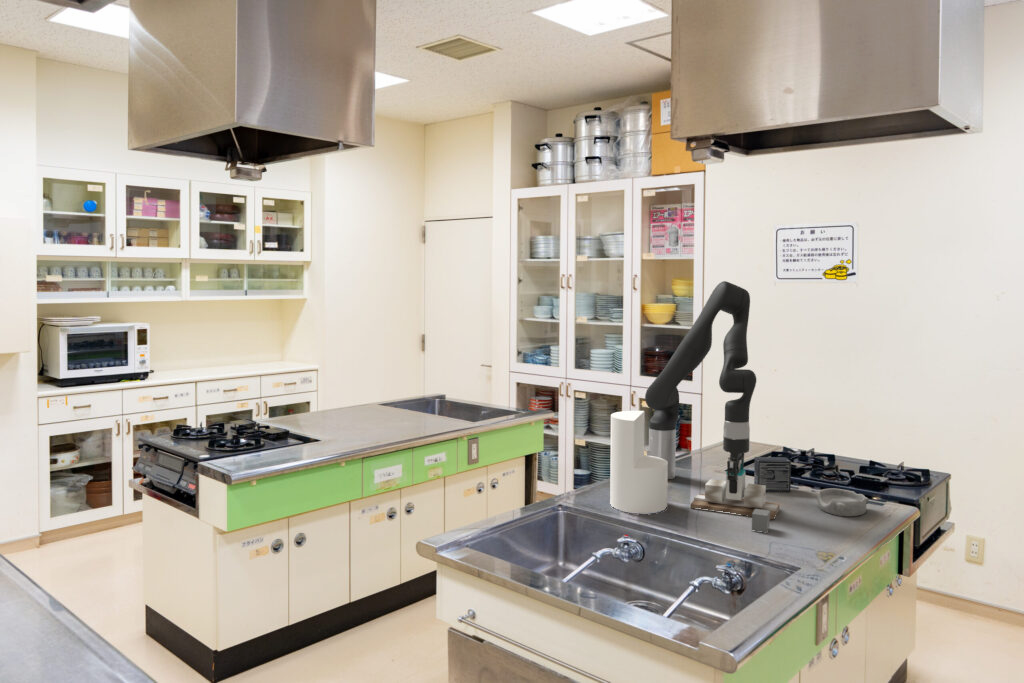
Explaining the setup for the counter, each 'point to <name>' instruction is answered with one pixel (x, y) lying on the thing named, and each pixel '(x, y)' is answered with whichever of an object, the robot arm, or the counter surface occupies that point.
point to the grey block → (760, 520)
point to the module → (740, 486)
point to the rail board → (746, 506)
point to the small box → (773, 473)
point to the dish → (842, 502)
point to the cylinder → (635, 467)
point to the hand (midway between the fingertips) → (735, 490)
